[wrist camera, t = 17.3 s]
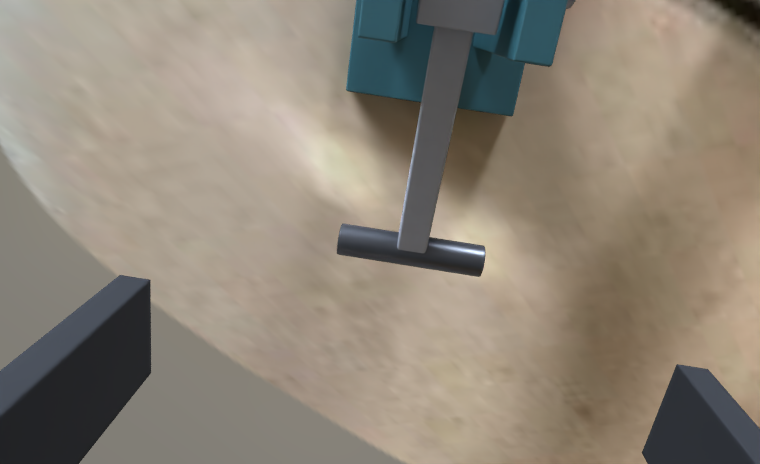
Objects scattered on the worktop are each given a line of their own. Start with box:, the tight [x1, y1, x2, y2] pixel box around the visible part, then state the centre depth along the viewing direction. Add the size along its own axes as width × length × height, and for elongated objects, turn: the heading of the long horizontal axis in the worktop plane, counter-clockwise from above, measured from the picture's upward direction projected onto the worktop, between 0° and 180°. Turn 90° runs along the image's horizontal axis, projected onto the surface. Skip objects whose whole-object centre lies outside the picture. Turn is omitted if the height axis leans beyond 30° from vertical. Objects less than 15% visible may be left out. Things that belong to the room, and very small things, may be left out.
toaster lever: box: [337, 0, 505, 277], centre depth 17 cm, size 12×6×2 cm, turn 172°
